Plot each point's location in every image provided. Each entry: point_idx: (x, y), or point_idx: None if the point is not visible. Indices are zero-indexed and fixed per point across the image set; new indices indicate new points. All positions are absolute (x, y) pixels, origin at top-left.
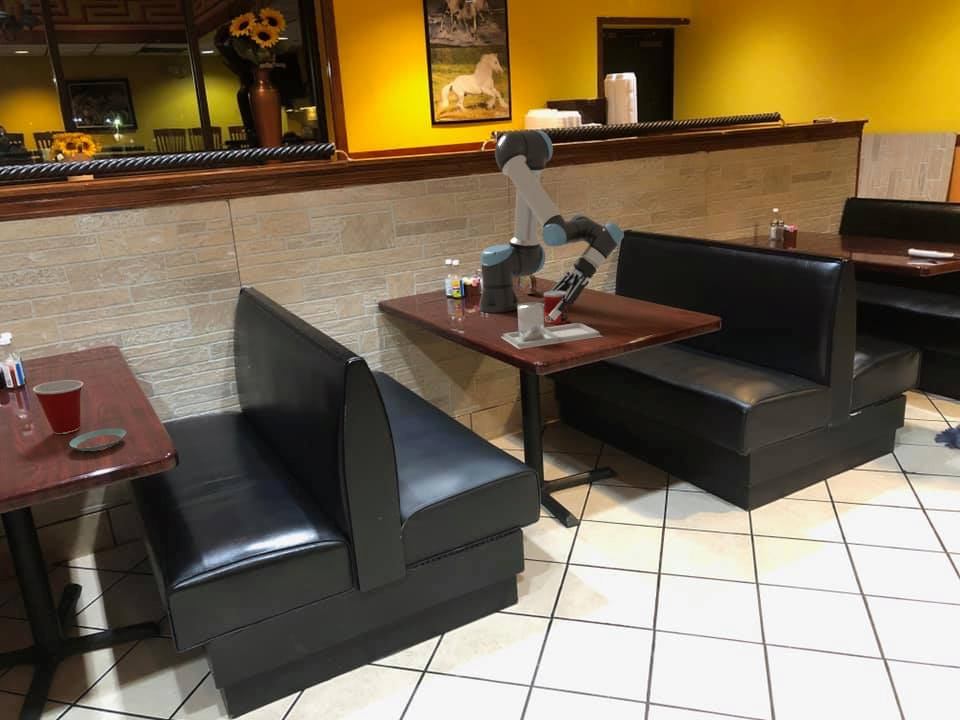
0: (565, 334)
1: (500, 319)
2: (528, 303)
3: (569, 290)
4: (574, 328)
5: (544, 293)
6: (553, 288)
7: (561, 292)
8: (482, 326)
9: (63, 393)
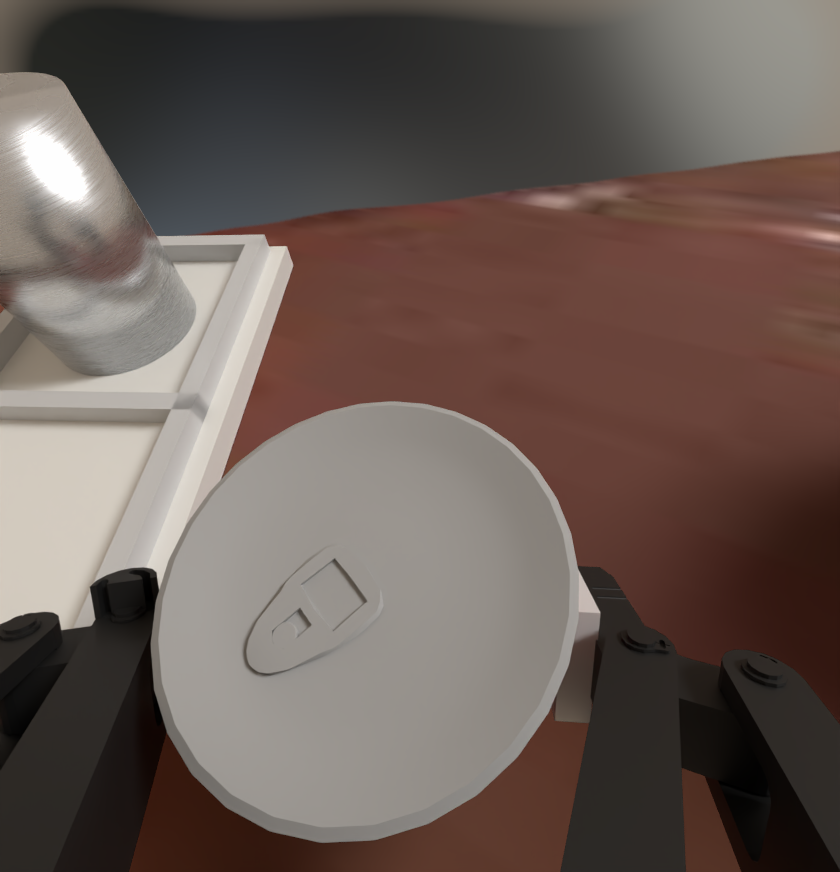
0: (21, 502)
1: (770, 384)
2: (11, 115)
3: (8, 789)
4: None
5: (438, 413)
6: (806, 746)
7: (391, 739)
8: (618, 275)
9: None
